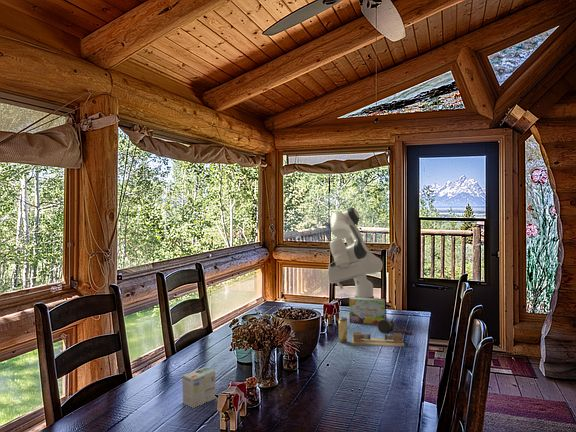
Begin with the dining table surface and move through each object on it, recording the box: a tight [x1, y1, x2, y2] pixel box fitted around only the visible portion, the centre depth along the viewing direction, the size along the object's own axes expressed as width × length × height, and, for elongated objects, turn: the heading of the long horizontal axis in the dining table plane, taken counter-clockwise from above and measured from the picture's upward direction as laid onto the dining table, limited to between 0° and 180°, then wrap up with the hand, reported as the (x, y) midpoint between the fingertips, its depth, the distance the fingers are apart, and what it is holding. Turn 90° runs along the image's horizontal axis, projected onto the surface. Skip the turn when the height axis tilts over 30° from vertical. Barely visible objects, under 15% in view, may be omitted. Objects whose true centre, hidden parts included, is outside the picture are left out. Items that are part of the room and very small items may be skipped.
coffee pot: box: [377, 319, 413, 336], centre depth 243 cm, size 8×18×8 cm
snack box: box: [348, 296, 386, 325], centre depth 265 cm, size 21×6×15 cm, turn 73°
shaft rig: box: [351, 331, 405, 347], centre depth 226 cm, size 10×26×5 cm, turn 83°
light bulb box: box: [181, 366, 217, 409], centre depth 159 cm, size 11×7×11 cm, turn 141°
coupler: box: [338, 316, 348, 344], centre depth 228 cm, size 5×5×12 cm
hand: (350, 286), depth 232 cm, fingers open, 8 cm apart
